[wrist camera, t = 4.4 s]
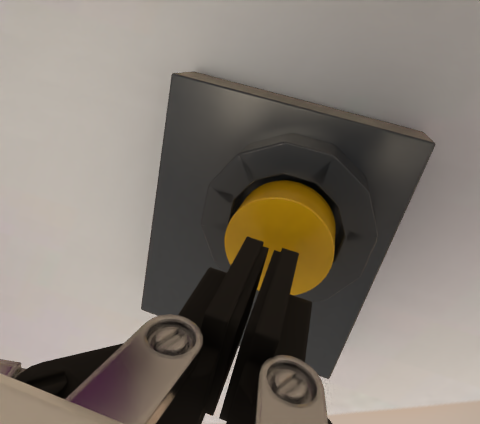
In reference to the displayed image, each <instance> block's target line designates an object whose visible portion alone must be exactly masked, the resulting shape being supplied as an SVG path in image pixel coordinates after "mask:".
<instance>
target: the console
mask: <svg viewBox="0 0 480 424" xmlns="http://www.w3.org/2000/svg"><path fill="white" fill-rule="evenodd" d="M434 147H435V143H434V142H433V141H432V140H431V139H430V138H429V137H428V136H427V135H426V134H425V133H424V132H422V131H418V130H414V129H410V128H407V127H403V126H399V125H395V124H391V123H388V122H384V121H380V120H376V119H372V118H369V117H365V116H361V115H357V114H353V113H349V112H346V111H342V110H338V109H334V108H330V107H327V106H323V105H319V104H315V103H311V102H308V101H304V100H300V99H296V98H292V97H289V96H285V95H281V94H277V93H273V92H270V91H266V90H262V89H258V88H254V87H250V86H247V85H243V84H239V83H235V82H231V81H228V80H224V79H220V78H216V77H212V76H209V75H205V74H201V73H197V72H183V73H173V74H172V77H171V85H170V93H169V100H168V108H167V115H166V123H165V131H164V138H163V146H162V153H161V161H160V169H159V176H158V184H157V192H156V199H155V207H154V214H153V222H152V230H151V237H150V245H149V252H148V260H147V268H146V275H145V283H144V290H143V298H142V306H141V309H142V310H144V311H147V312H149V313H152V314H155V315H157V316H160V315H168V314H172V315H178V314H179V313H180V311H181V310H182V308H183V307H184V305H185V304H186V302H187V300H188V299H189V297H190V296H191V294H192V293H193V291H194V290H195V288H196V287H197V285H198V284H199V282H200V280H201V279H202V277H203V276H204V274H205V273H206V271H207V270H208V269H209V268H210V267H211V268H214V269H217V270H220V271H223V272H226V273H227V272H228V270H229V268H230V266H231V265H230V263H229V261H228V258H227V255H226V251H225V232H226V229H227V226H228V224H229V222H230V220H231V218H232V217H233V215H234V214H235V212H236V211H237V210H238V208H239V207H240V206H241V204H242V203H243V201H244V200H245V199H246V197H247V196H248V195H249V194H250V193H251V192H252V191H253V190H255V189H256V188H258V187H259V186H261V185H263V184H266V183H269V182H272V181H279V180H287V181H294V182H299V183H302V184H304V185H307V186H308V187H310V188H312V189H314V190H315V191H316V192H318V193H319V194H320V195H321V196H322V197H323V198H324V199H325V200H326V202H327V203H328V205H329V206H330V208H331V210H332V212H333V215H334V218H335V224H336V234H335V251H334V260H333V263H332V267H331V269H330V271H329V273H328V274H327V276H326V277H325V278H324V279H323V281H322V282H321V283H319V284H318V285H317V286H316V287H314V288H313V289H311V290H309V291H307V292H305V293H302V294H298V295H294V296H297V297H300V298H303V299H305V300H308V301H311V302H312V310H311V318H310V326H309V334H308V342H307V350H306V358H305V363H307V364H308V365H310V366H311V367H312V368H313V369H314V370H315V371H316V372H317V374H318V375H319V376H321V377H324V378H327V379H329V378H330V376H331V374H332V372H333V370H334V367H335V365H336V363H337V361H338V358H339V356H340V354H341V352H342V350H343V347H344V345H345V343H346V341H347V339H348V336H349V334H350V332H351V330H352V328H353V325H354V323H355V321H356V319H357V317H358V314H359V312H360V310H361V308H362V306H363V303H364V301H365V299H366V297H367V295H368V292H369V290H370V288H371V286H372V284H373V281H374V279H375V277H376V275H377V273H378V270H379V268H380V266H381V264H382V262H383V259H384V257H385V255H386V253H387V251H388V248H389V246H390V244H391V242H392V239H393V237H394V235H395V233H396V231H397V228H398V226H399V224H400V222H401V220H402V217H403V215H404V213H405V211H406V209H407V206H408V204H409V202H410V200H411V198H412V195H413V193H414V191H415V189H416V187H417V184H418V182H419V180H420V178H421V176H422V173H423V171H424V169H425V167H426V165H427V162H428V160H429V158H430V156H431V154H432V151H433V149H434ZM258 293H259V291H258V290H257V291H256V294H255V298H254V301H253V305H252V308H251V311H250V315H251V312H252V309H253V307H254V304H255V301H256V298H257V296H258ZM250 315H249V318H250ZM249 318H248V320H249ZM247 323H248V321H247ZM246 326H247V324H246ZM245 329H246V327H245ZM244 332H245V330H244ZM243 336H244V333H243V335H242V338H241V341H240V343H239V346H241V342H242V339H243Z"/></svg>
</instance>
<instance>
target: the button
mask: <svg viewBox="0 0 480 424" xmlns="http://www.w3.org/2000/svg"><path fill="white" fill-rule="evenodd" d="M335 234H336V224H335V218H334V215H333V212H332V210H331V208H330V206H329V205H328V203H327V202H326V200H325V199H324V198H323V197H322V196H321V195H320V194H319V193H318V192H316V191H315V190H314V189H312V188H310V187H308V186H307V185H304V184H302V183H299V182H294V181H287V180H279V181H272V182H269V183H266V184H263V185H261V186H259V187H258V188H256V189H255V190H253V191H252V192H251V193H250V194H249V195H248V196H247V197H246V199H245V200H244V201H243V203H242V204H241V206H240V207H239V208H238V210H237V211H236V212H235V214H234V215H233V217H232V218H231V220H230V222H229V224H228V226H227V229H226V232H225V251H226V255H227V258H228V261H229V263H230V265H231V264H232V263H233V261H234V259H235V257H236V255H237V254H238V252H239V250H240V248H241V246H242V244H243V243H244V241H245V239H246V237H247V236H248V237H251V238H254V239H257V240H260V241H263V242H264V243H263V246H264V247H267V248H269V250H268V253H267V257H266V260H265V264H264V267H263V271H262V274H261V277H260V281H259V284H258V288H257V290H258V291H259V290H260V287H261V285H262V282H263V279H264V276H265V274H266V271H267V268H268V265H269V263H270V260H271V257H272V255H273V252H274V250H276V251H279V252H281V250H282V248H285V249H288V250H291V251H294V252H297V253H299V256H298V261H297V265H296V269H295V274H294V278H293V283H292V287H291V291H290V294H291V295H298V294H302V293H305V292H307V291H309V290H311V289H313V288H314V287H316V286H317V285H318V284H319V283H321V282H322V281H323V279H324V278H325V277H326V276H327V274H328V273H329V271H330V269H331V267H332V263H333V260H334V251H335Z"/></svg>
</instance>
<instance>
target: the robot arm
mask: <svg viewBox="0 0 480 424" xmlns="http://www.w3.org/2000/svg"><path fill="white" fill-rule="evenodd" d="M263 243H264V242H263V241H260V240H257V239H254V238H251V237H248V236H247V237H246V239H245V241H244V243H243V244H242V246H241V248H240V250H239V252H238V254H237V255H236V257H235V259H234V261H233V263H232V264H231V266H230V268H229V270H228V272H227V273H226V272H223V271H220V270H217V269H214V268H211V267H210V268H209V269H208V270H207V271H206V273H205V274H204V276H203V277H202V279H201V280H200V282H199V284H198V285H197V287H196V288H195V290H194V291H193V293H192V294H191V296H190V297H189V299H188V300H187V302H186V304H185V305H184V307H183V308H182V310H181V311H180V313H179V314H178V315H172V314H168V315H160V316H157V317H154V318H152V319H151V320H149V321H148V322H146V323H145V324H144V325H143V326H142V327H141V328H140V329H139V330H138V331H137V332H135V333H134V334H133V335H132V336H131V337H130V338H129V339H128V340H127V341H126V342H125V343H123V344H119V345H115V346H110V347H106V348H102V349H98V350H93V351H89V352H85V353H80V354H76V355H72V356H68V357H63V358H59V359H55V360H50V361H46V362H42V363H39V364H37V365H34V366H31V367H29V368H28V369H23V368H21V363H20V362H14V361H8V360H2V359H0V424H201V423H202V421H203V418H204V416H205V413H207V414H210V415H212V416H213V414H214V412H215V409H216V406H217V404H218V401H219V398H220V395H221V393H222V390H223V387H224V384H225V382H226V379H227V376H228V373H229V371H230V368H231V365H232V363H233V360H234V357H235V354H236V352H237V349H238V346H239V343H240V341H241V338H242V335H243V333H244V336H243V339H242V342H241V346H240V349H239V352H238V356H237V359H236V363H235V366H234V369H233V373H232V376H231V380H230V383H229V386H228V390H227V393H226V397H225V400H224V404H223V407H222V410H221V414H220V417H219V418H220V419H222V420H225V421H227V423H226V424H332V423H331V421H330V420H329V419H328V418H327V410H326V401H325V393H324V387H323V384H322V380H321V379H320V377H319V376H318V374H317V372H316V371H315V370H314V369H313V368H312V367H311V366H310V365H308V364H307V363H305V358H306V350H307V342H308V334H309V326H310V318H311V310H312V302H311V301H308V300H305V299H303V298H300V297H297V296H294V295H291V294H290V291H291V287H292V283H293V278H294V274H295V269H296V265H297V261H298V256H299V253H297V252H294V251H291V250H288V249H285V248H282V250H281V252H279V251H276V250H274V252H273V255H272V257H271V260H270V263H269V265H268V268H267V271H266V274H265V276H264V279H263V282H262V285H261V287H260V290H259V293H258V296H257V298H256V301H255V304H254V307H253V309H252V312H251V315H250V311H251V308H252V305H253V301H254V298H255V294H256V291H257V288H258V284H259V281H260V277H261V274H262V271H263V267H264V264H265V260H266V257H267V253H268V250H269V248H267V247H264V246H263ZM249 315H250V318H249ZM248 318H249V320H248ZM247 321H248V323H247ZM246 324H247V326H246ZM245 327H246V329H245ZM244 330H245V332H244Z"/></svg>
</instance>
